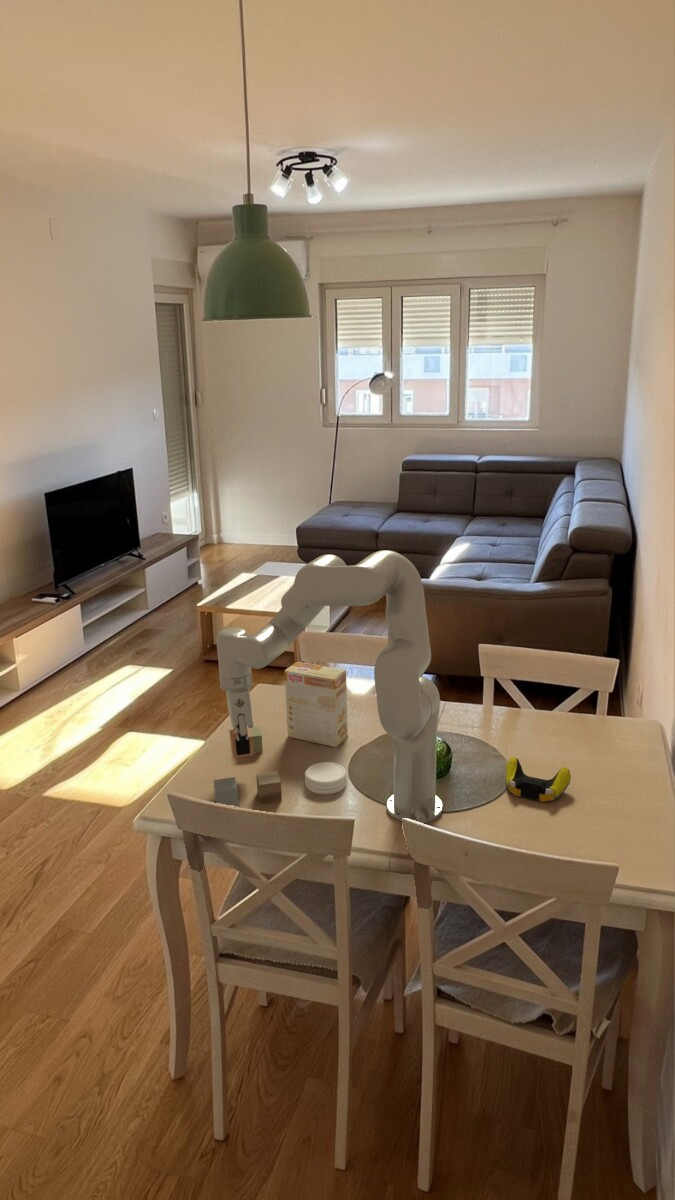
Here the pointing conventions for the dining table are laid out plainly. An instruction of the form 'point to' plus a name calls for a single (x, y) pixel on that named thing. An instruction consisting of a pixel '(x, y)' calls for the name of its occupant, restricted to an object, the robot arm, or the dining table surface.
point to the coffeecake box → (316, 703)
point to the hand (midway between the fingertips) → (242, 747)
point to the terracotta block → (233, 743)
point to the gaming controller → (535, 783)
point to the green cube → (256, 739)
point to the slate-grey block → (226, 791)
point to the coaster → (325, 778)
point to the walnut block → (269, 787)
